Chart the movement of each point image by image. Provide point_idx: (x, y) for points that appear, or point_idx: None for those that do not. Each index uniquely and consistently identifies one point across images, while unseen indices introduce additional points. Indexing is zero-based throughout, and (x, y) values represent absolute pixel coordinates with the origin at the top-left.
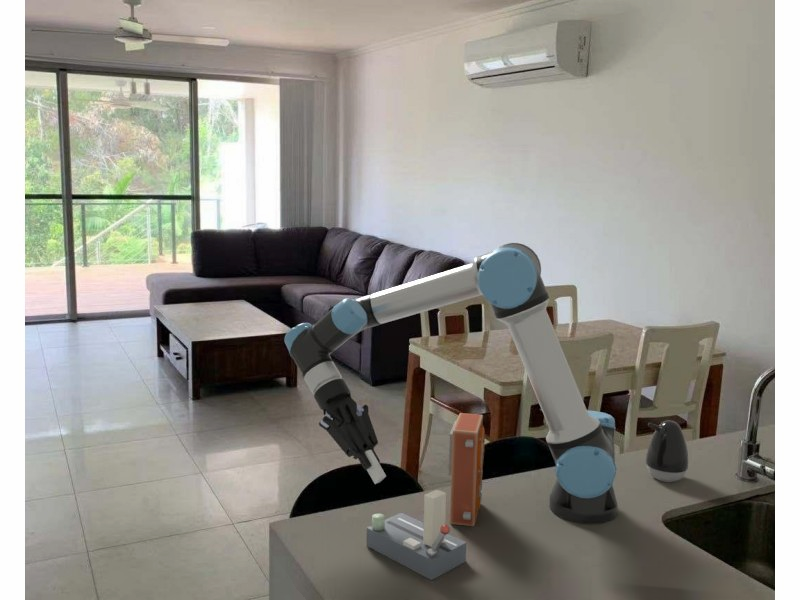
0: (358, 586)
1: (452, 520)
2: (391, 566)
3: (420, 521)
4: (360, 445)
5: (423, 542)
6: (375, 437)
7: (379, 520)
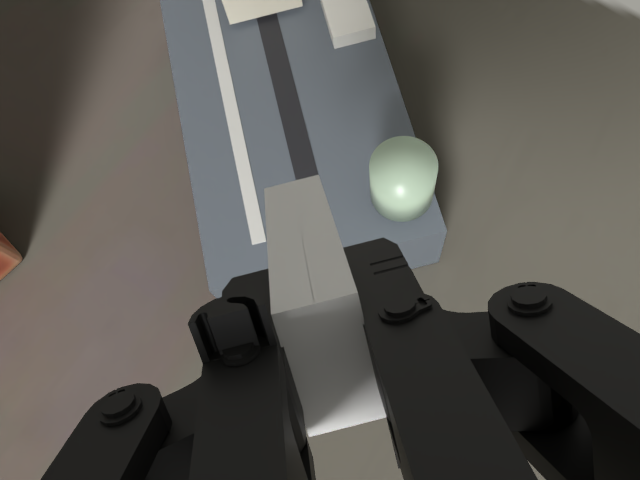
0: (590, 35)
1: (9, 246)
2: (421, 92)
3: (189, 170)
4: (406, 350)
5: (301, 3)
6: (68, 465)
7: (414, 139)
